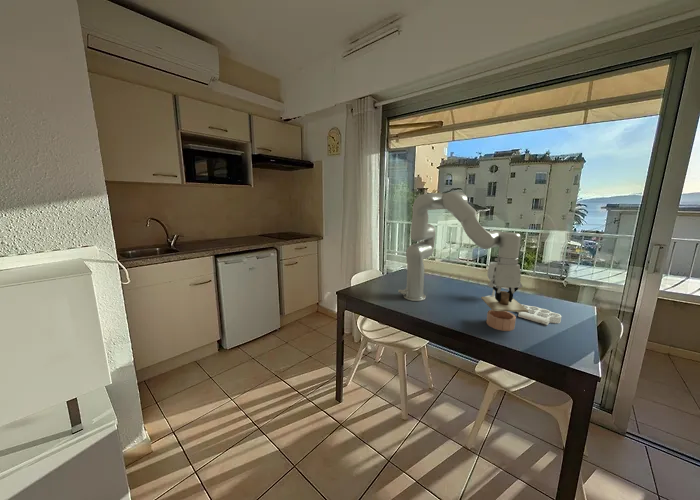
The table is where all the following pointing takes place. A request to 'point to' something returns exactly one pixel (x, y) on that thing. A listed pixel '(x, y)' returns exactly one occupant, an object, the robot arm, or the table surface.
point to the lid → (504, 303)
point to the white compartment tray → (540, 315)
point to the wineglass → (491, 275)
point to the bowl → (501, 320)
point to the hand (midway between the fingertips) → (503, 300)
